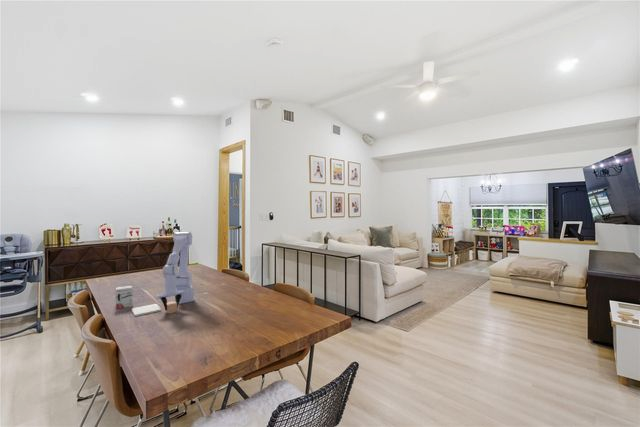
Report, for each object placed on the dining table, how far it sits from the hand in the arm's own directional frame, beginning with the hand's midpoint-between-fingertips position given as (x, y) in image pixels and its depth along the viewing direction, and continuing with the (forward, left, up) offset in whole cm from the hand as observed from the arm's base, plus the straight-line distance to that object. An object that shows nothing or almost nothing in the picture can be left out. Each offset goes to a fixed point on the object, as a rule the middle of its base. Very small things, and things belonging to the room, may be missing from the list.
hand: (171, 308), depth 169 cm
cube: (0, 0, -1) cm, 1 cm away
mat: (+11, -11, -1) cm, 16 cm away
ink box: (+20, -28, -2) cm, 34 cm away
